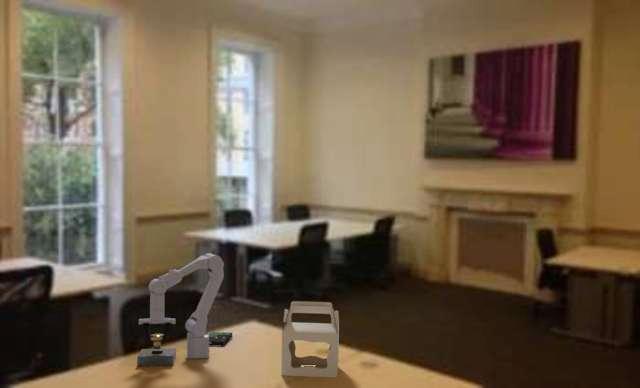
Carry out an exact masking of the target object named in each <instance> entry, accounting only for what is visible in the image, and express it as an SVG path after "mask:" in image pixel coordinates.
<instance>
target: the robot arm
mask: <svg viewBox="0 0 640 388" xmlns="http://www.w3.org/2000/svg"><path fill="white" fill-rule="evenodd" d="M224 266H225V262H224V261H223V258H222V257H221V256H219V255H216V254H213V253H210V252H207V253H204V254H203V255H200V256H199V257H197V258H196V259H194V260H192V261H191V262H190V263H188V264H186V265H185V266H182V267H181V268H179V269H169V270H168V272H167V273H165V274H163V275H160V276H158V278H154V279H152V280H151V281H150V282H149V284H148V287H147V288H148V290H149V292H150V295H149V296H150V297H149V317H148V318H139V319H138V325H142V329H143V330H144V332H145V334H146V337H147V342H148V343H150V342H152V341H151V340H150V335H152V334H151V327H152V325H161V324H162V325H163V334H164V340H163V343H165V342H166V341H167V337H168V332H169V331H170V327H171V326H172V325H176V324H177V323H176V318H173V317H172V318H171V317H165V302H166V301H165V293H166V292H167V290H168V289H170V288H171V287H173V286H175V285H177V284H178V283H180V282H182V279H183V277H186V276H188V275H189V274H192V273H194V272H195V271H197V270H199V269H201V270H207V272H208V275H209V280H208V282H207V284H206V286H205V289H204V291H203V293H202V296H201V298H200V300H199V302H198V305H197V307H196V309H195V311H193V312H192V314H191V315H190V317H189V318H187V320H186V322H185V325H184V328H185V330H186V331H187V333H186V354H185V357H184V359H186V360H187V359H209V354H210V352H211V351H210V345H209V334H206V332H207V324H208V323H209V322H208V320H209V319H208V314H209V312H210V310H211V308H212V306H213V303H214V301H215V299H216V296H217V295H218V292H219V289H220V287H221V285H222V283H223V280H224V276H225V273H224Z"/></svg>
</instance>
